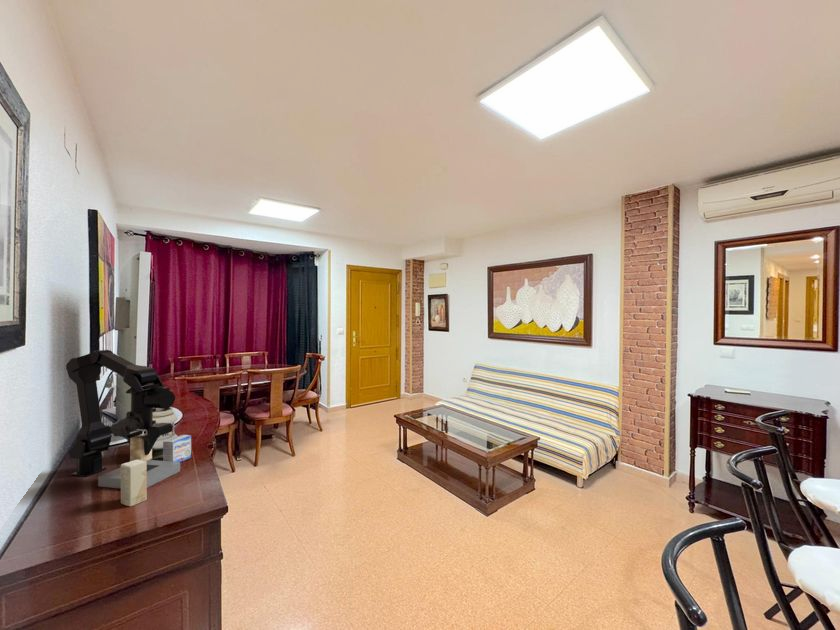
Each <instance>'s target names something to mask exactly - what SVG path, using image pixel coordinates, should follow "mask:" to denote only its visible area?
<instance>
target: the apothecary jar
mask: <svg viewBox="0 0 840 630" xmlns="http://www.w3.org/2000/svg"><path fill="white" fill-rule="evenodd" d="M178 419H179V415H178V414H177V413H176V412H174V408H173V407H172V406H171V407H170V408H167V409H161V408H156V411H155V412H153V420H156V424H159V423H171V424H172V425H173V431H172V432H169V433H166V434H164V435H161V436H159V437H158V439H157V440H156V442H155V444H154V446H153V447H152V459H150V460H157V461H163V460H162V459H163V442H164V441H167V440H169V439H172V438H175V437H178V436H179V435H177V434H176V433H175V423H176V422H177V421H178ZM156 424H152V426H153V425H156ZM143 434H146V431H143Z"/></svg>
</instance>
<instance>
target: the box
mask: <svg viewBox="0 0 840 630" xmlns="http://www.w3.org/2000/svg"><path fill="white" fill-rule="evenodd" d="M120 468H121V488H120V504H122V505H124V506H127V507H132V506H136V505H138V504H140V503H142V502H144V501H147V500H148V499H147V498H148V489H147V488H148V487H147V462H145V461H142V460H134V461H130V460H129V461H128V462H124V463H121V464H120Z"/></svg>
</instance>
